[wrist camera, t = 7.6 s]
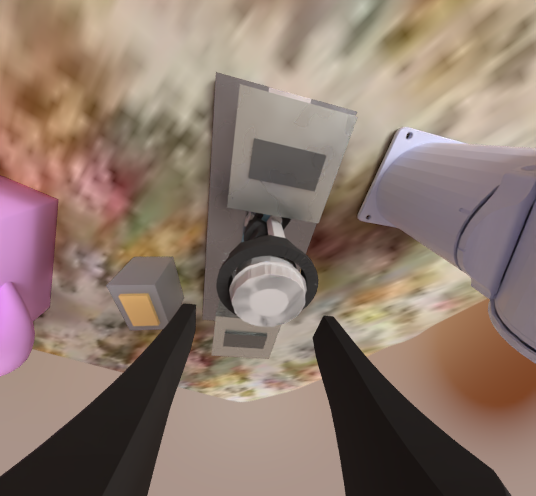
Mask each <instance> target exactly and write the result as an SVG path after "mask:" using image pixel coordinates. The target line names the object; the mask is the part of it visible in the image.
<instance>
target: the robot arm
mask: <svg viewBox="0 0 536 496" xmlns="http://www.w3.org/2000/svg"><path fill="white" fill-rule="evenodd" d="M408 133H409V134H410V135H409V137H408V138H407V139H406V135H407V134H408ZM368 215H369V217H368V218H366V217H367V216H368ZM357 218H358V219H359V220H360V221H364V222H369V223H374V224H380V225H385V226H391V227H396V228H399V229H401V230H402V231H404V232H405V233H406V234H408V235H409V236H411V237H412V238H414V239H415V240H417V241H418V242H420V243H421V244H423V245H424V246H426V247H427V248H429V249H430V250H432V251H433V252H435V253H436V254H438V255H439V256H441V257H442V258H444V259H445V260H447V261H448V262H450V263H451V264H453V265H454V266H456V267H457V268H459V269H460V270H462V271H463V272H465V273H466V274H467V275H468V276H470V278H471V280H472V283H471V286H472V287H473V288H475V289H476V290H477V291H479V292H480V293H482V294H483V295H484V296H486V297H487V298H489V299H490V301H489V305H488V312H489V317H490V320H491V322H492V324H493V326H494V327H495V329H496V330H497V331H498V333H499V334H500V335H501V336H502V337H503V338H504V339H505V340H506V341H507V342H508V343H509V344H510V345H511V346H512V347H514V348H515V349H516V350H517V351H518V352H520V353H521V354H522V355H524V356H525V357H527V358H528V359H530V360H531V361H533V362H534V363H536V148H525V147H508V146H491V145H474V144H466V143H462V142H459V141H455V140H452V139H448V138H445V137H441V136H437V135H434V134H430V133H427V132H423V131H420V130H416V129H412V128H409V127H401V128H399V129H398V130H397V132H396V133H395V135H394V138H393V140H392V142H391V144H390V146H389V148H388V150H387V153H386V155H385V157H384V159H383V161H382V163H381V165H380V168H379V170H378V172H377V174H376V176H375V178H374V180H373V183H372V185H371V187H370V189H369V191H368V193H367V195H366V198H365V200H364V202H363V204H362V206H361V208H360V210H359V213H358V215H357ZM195 327H196V305H193V304H182V305H181V307H180V308H179V309H178V311H177V312H176V314H175V315H174V316H173V318H172V319H171V320H170V321H169V323H168V324H167V325H166V327H165V328H164V329H163V330H162V331H161V333H160V334H159V335H158V336H157V337H156V338H155V340H154V341H153V342H152V343H151V344H150V345H149V346H148V347H147V349H146V350H145V351H144V352H143V353H142V354H141V355H140V356H139V357H138V358H137V359H136V360H135V361H134V362H133V363H132V365H131V366H130V367H129V368H128V369H127V370H126V371H125V372H124V373H123V374H122V375H120V376H119V378H117V379H116V380H115V381H114V383H112V384H111V385H110V386H109V387H108V388H107V389H106V390H105V391H103V392H102V393H101V394H100V395H99V396H98V397H97V398H96V399H95V400H94V401H93V402H91V403H90V404H89V405H88V406H87V407H86V408H85V409H83V410H82V411H81V412H80V413H79V414H78V415H76V416H75V417H74V418H73V419H72V420H70V421H69V422H68V423H67V424H66V425H64V426H63V427H62V428H61V429H60V430H58V431H57V432H56V433H55V434H54V435H52V436H51V437H50V438H49V439H48V440H46V441H45V442H44V443H43V444H42V445H40V446H39V447H38V448H37V449H35V450H34V451H33V452H31V453H30V454H29V455H28V456H26V457H25V458H24V459H22V460H21V461H20V462H19V463H17V464H16V465H15V466H13V467H12V468H11V469H10V470H8V471H7V472H6V473H4V474H3V475H2V476H0V496H147V494H148V490H149V486H150V482H151V479H152V475H153V471H154V467H155V463H156V459H157V455H158V451H159V448H160V444H161V440H162V436H163V432H164V429H165V425H166V421H167V418H168V414H169V410H170V407H171V404H172V401H173V398H174V395H175V392H176V389H177V387H178V384H179V381H180V378H181V375H182V372H183V370H184V367H185V364H186V361H187V358H188V355H189V353H190V350H191V346H192V342H193V338H194V334H195ZM313 343H314V349H315V354H316V359H317V362H318V366H319V369H320V373H321V376H322V380H323V383H324V387H325V390H326V393H327V397H328V400H329V404H330V408H331V412H332V417H333V422H334V427H335V432H336V438H337V443H338V449H339V454H340V460H341V467H342V473H343V480H344V486H345V494H346V496H511V494H510V493H509V492H508V490H507V489H506V487H505V486H504V485H503V483H502V482H501V480H500V479H499V477H498V476H497V474H496V473H495V472H494V470H492V469H491V468H490V467H488V466H487V465H486V464H485V463H483V462H482V461H480V460H479V459H478V458H477V457H475V456H474V455H473V454H471V453H470V452H469V451H468V450H466V449H465V448H463V447H462V446H461V445H459V444H458V443H457V442H456V441H455V440H453V439H452V438H451V437H450V436H449V435H447V434H446V433H445V432H444V431H443V430H441V429H440V428H439V427H438V426H436V425H435V424H434V423H433V422H432V421H431V420H430V419H428V418H427V417H426V416H425V415H424V414H423V413H421V412H420V411H419V410H418V409H417V408H416V407H415V406H414V405H413V404H412V403H410V402H409V401H408V400H407V399H406V398H405V397H404V396H403V395H402V394H401V393H400V392H399V391H398V390H397V389H396V388H395V387H394V386H393V385H392V384H391V383H390V382H389V381H388V380H387V379H386V378H385V377H384V376H383V375H382V374H381V373H380V372H379V371H378V369H377V368H376V367H375V366H374V365H373V364H372V363H371V362H370V361H369V359H368V358H367V357H366V356H365V355H364V354H363V352H362V351H361V350H360V349H359V348H358V346H357V345H356V344H355V343H354V342H353V340H352V339H351V338H350V337H349V335H348V334H347V333H346V332H345V330H344V329H343V328H342V327H341V325H340V324H339V323H338V322H337V320H336V319H335V318H334V317H333V316H323V318H322V320H321V322H320V324H319V326H318V328H317V330H316V332H315V334H314V336H313Z"/></svg>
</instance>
